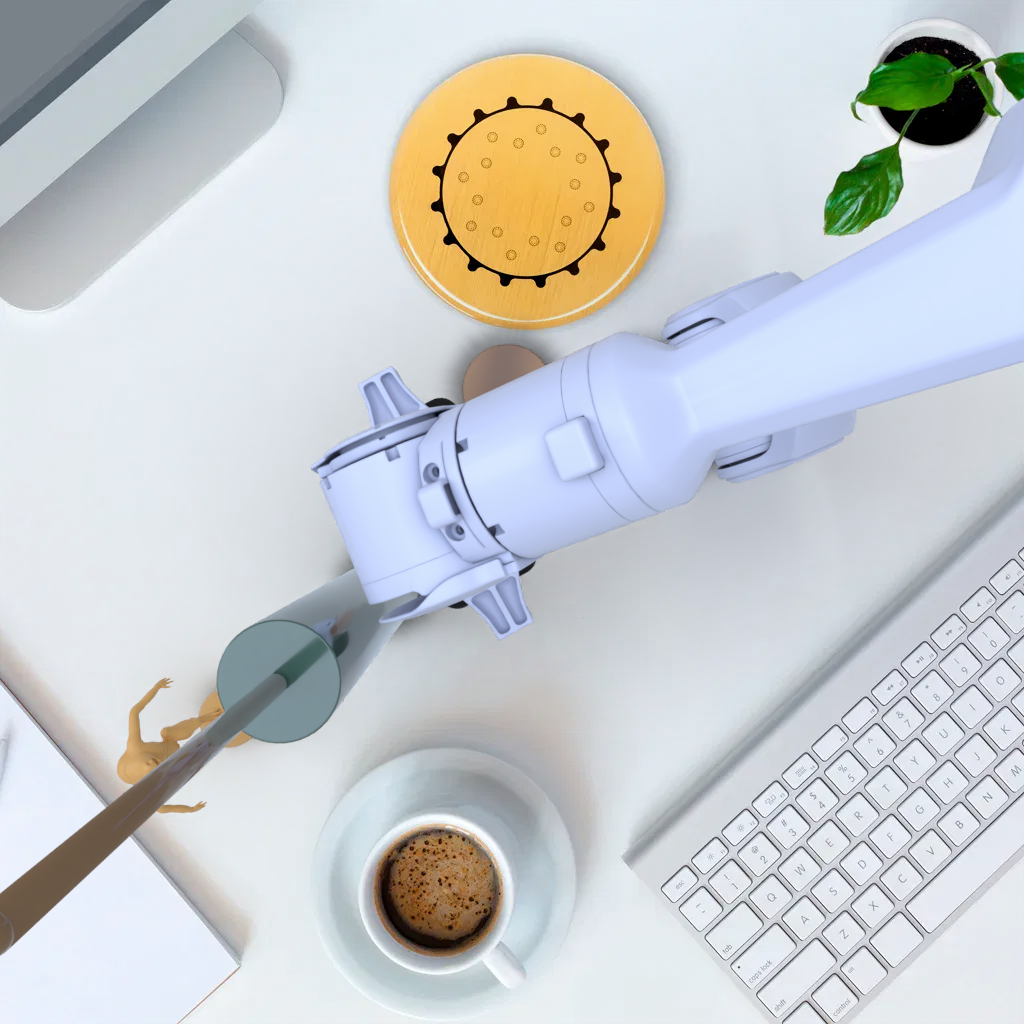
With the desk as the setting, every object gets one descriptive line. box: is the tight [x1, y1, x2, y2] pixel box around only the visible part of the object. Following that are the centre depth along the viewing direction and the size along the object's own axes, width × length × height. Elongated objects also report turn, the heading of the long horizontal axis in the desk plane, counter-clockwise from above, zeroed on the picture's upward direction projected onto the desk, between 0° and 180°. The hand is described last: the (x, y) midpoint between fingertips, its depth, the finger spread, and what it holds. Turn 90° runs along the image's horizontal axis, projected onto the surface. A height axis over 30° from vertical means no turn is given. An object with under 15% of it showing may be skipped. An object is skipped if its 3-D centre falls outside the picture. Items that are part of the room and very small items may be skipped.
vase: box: [0, 567, 419, 957], centre depth 40 cm, size 5×5×50 cm
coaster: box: [462, 344, 546, 403], centre depth 64 cm, size 6×6×1 cm
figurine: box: [116, 677, 252, 814], centre depth 59 cm, size 8×6×12 cm
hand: (455, 500), depth 56 cm, fingers closed on pot, 5 cm apart
